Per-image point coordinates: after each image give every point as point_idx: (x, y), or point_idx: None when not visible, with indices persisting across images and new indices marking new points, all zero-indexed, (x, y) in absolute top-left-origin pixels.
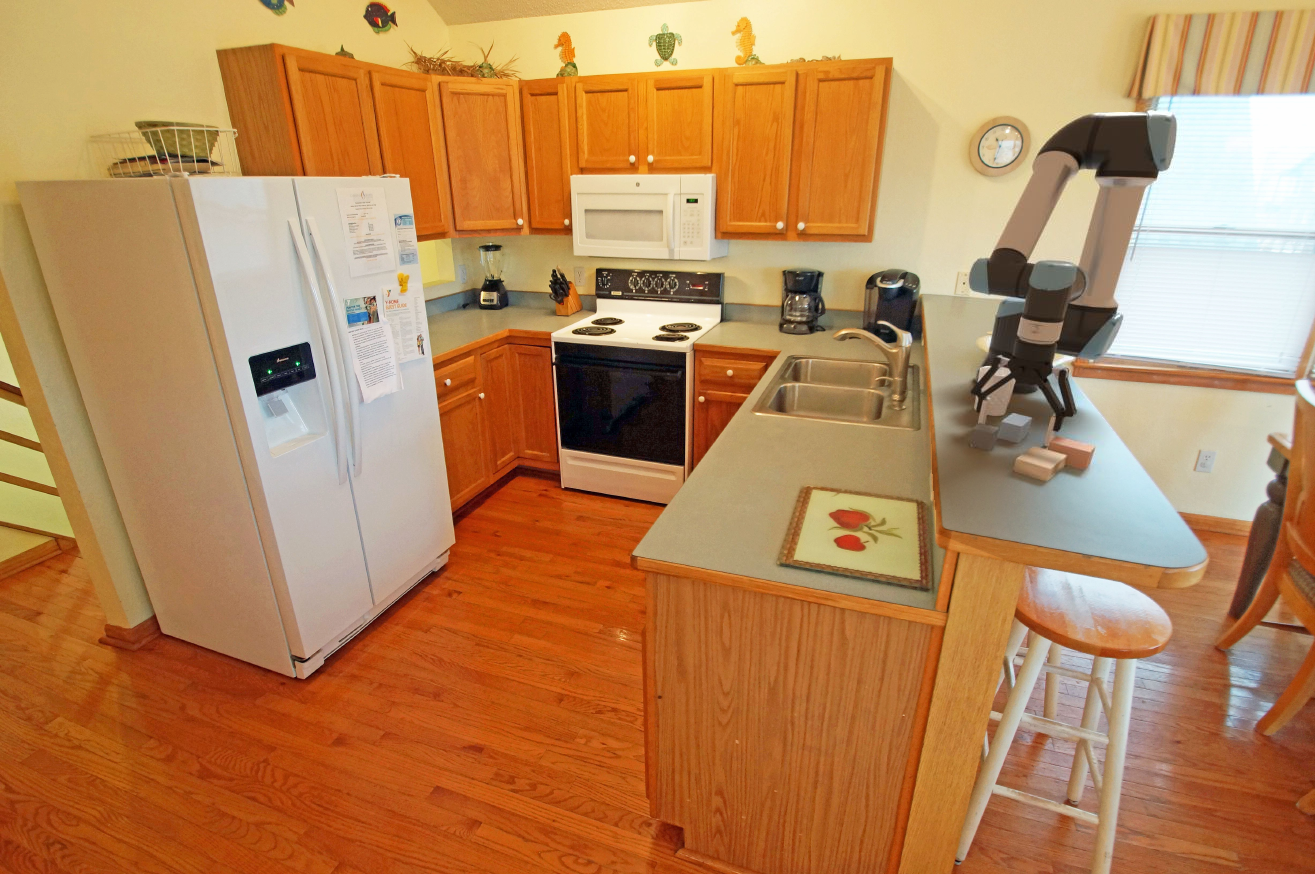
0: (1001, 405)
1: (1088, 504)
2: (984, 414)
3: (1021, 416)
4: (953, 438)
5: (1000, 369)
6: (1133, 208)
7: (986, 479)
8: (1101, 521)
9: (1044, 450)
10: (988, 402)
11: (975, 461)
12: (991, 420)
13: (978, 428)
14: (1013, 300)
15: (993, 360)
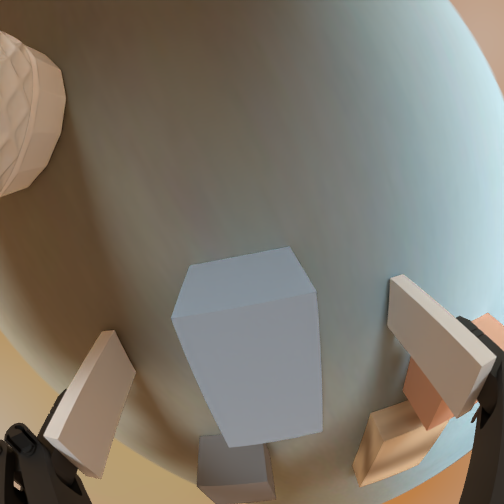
0: (22, 139)
1: (455, 433)
2: (111, 408)
3: (252, 333)
4: (163, 454)
5: None
6: None
7: (325, 494)
8: (459, 442)
9: (409, 437)
10: (81, 441)
11: (279, 485)
12: (76, 229)
13: (227, 500)
14: None
15: None
